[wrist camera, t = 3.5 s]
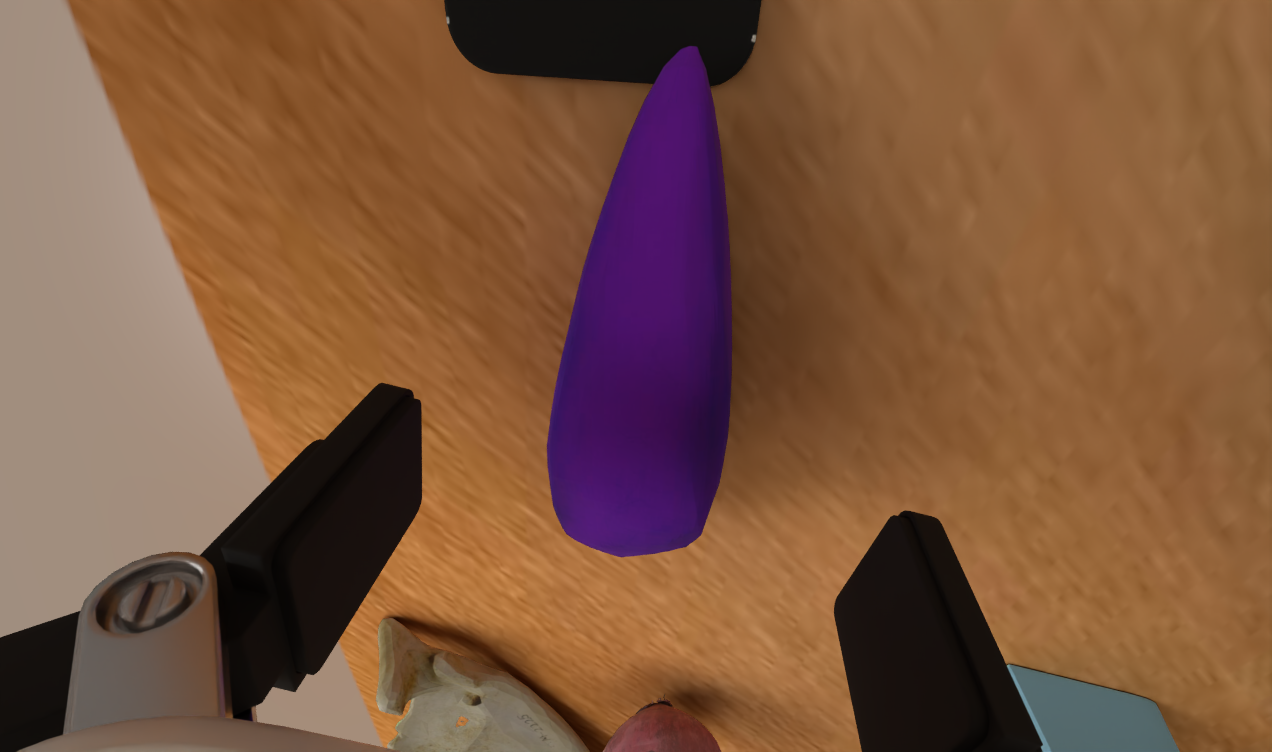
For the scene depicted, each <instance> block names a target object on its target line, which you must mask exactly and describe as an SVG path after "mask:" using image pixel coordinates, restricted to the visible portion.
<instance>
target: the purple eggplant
mask: <svg viewBox="0 0 1272 752" xmlns="http://www.w3.org/2000/svg"><path fill="white" fill-rule="evenodd" d="M731 378H732V301H731V268H730V246H729V229H728V215H727V205H726V194H725V183H724V175H723V166H722V157H721V148H720V140H719V134H718V127H717V121H716V114H715V108H714V103H713V98H712V94H711V90H710V85H709V81H708V76H707V71H706V68H705V65H704V63H703V61H702V58H701V56H700V53H699V50H698V47H696V46H688V47H686V48H683V49H681V50H680V51H679V52H678V53H677V54H676V55H675V56H674V57H673V58H672V59H671V60H670V61H669V62H668V63H667V64H666V65H665V66H664V67H663V69H662V71H661V72H660V74H659V76H658V78H657V80H656V81H655V83H654V85H653V87H652V88H651V90H650V92H649V94H648V95H647V97H646V99H645V101H644V103H643V105H642V107H641V109H640V112H639V114H638V116H637V118H636V121H635V123H634V125H633V127H632V129H631V132H630V134H629V136H628V139H627V142H626V144H625V147H624V150H623V152H622V155H621V158H620V160H619V163H618V166H617V168H616V171H615V174H614V177H613V179H612V182H611V185H610V188H609V191H608V193H607V196H606V199H605V202H604V205H603V207H602V211H601V214H600V217H599V220H598V223H597V226H596V229H595V231H594V234H593V237H592V241H591V244H590V247H589V251H588V254H587V258H586V261H585V264H584V268H583V271H582V275H581V279H580V283H579V287H578V291H577V295H576V299H575V304H574V308H573V312H572V316H571V320H570V325H569V329H568V333H567V337H566V342H565V346H564V350H563V354H562V358H561V363H560V368H559V372H558V377H557V382H556V387H555V393H554V399H553V405H552V411H551V418H550V426H549V434H548V442H547V461H548V472H549V480H550V487H551V495H552V501H553V506H554V509H555V512H556V515H557V517H558V519H559V521H560V524H561V526H562V528H563V529H564V531H565V532H566V534H567V535H569V536H570V537H572V538H573V539H575V540H576V541H578V542H580V543H582V544H584V545H587V546H589V547H591V548H594V549H596V550H599V551H602V552H605V553H609V554H612V555H615V556H618V557H626V556H637V555H647V554H656V553H659V552H665V551H671V550H674V549H678V548H683V547H686V546H688V545H689V544H690V543H692V542H693V541H695V540H696V539H697V538H698V537H699V536H700V535H701V534H702V531H703V528H704V525H705V522H706V519H707V517H708V514H709V511H710V508H711V505H712V502H713V500H714V497H715V494H716V491H717V489H718V486H719V483H720V478H721V473H722V468H723V462H724V456H725V450H726V444H727V438H728V428H729V417H730V398H731Z"/></svg>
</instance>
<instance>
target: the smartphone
mask: <svg viewBox="0 0 1272 752" xmlns="http://www.w3.org/2000/svg"><path fill="white" fill-rule="evenodd" d="M444 2H445V11H446V18H447V24H448V28H449V31H450V34H451V36H452V39H453V41H454V43H455V45H456V46H457V48H458V49H459V51H460V52H461V53H462V54H463V56H464V57H465V58H466V59H467V60H468V61H469V62H471V63H472V64H473V65H475V66H476V67H478V68H480V69H482V70H484V71H487V72H490V73H497V74H511V75H526V76H542V77H557V78H572V79H587V80H603V81H618V82H633V83H648V84H654V83H655V81H656V80H657V78H658V76H659V74H660V72H661V71H662V69H663V67H664V66H665V65H666V64H667V63H668V62H669V61H670V60H671V59H672V58H673V57H674V56H675V55H676V54H677V53H678V52H679V51H680V50H681V49H683V48H686V47H688V46H696V47H698V50H699V53H700V56H701V58H702V61H703V63H704V65H705V68H706V71H707V76H708V81H709V85H710V87H711V86H716V85H719V84H721V83H724V82H726V81H727V80H729V79H731V78H732V77H733V76H735V75H736V74H737V73H738V72H739V71H740V70H741V69H742V67H743V66H744V65H745V63H746V62H747V60H748V59H749V57H750V55H751V52H752V50H753V47H754V44H755V40H756V35H757V28H758V21H759V14H760V7H761V0H444Z"/></svg>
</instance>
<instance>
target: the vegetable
mask: <svg viewBox="0 0 1272 752" xmlns="http://www.w3.org/2000/svg"><path fill="white" fill-rule="evenodd" d="M664 696H665V695H664ZM663 698H664V697H663ZM659 699H660V700H659ZM659 699H658V700H657V702H658V703H653V701H652V703H650V704H648V705H646V706H644V707H643V708H641V709H640V710H639V711H638V712H637V713H636V714H635V715H634V716H632V717H631V718H630V719H628V720H627V721H626V722H625V723H624V724H622V725H621V726H620V727H619V728H618V730H617V731H616V732H615V733H614V735H613V736H612V737H611V739H610V740H609V742H608V743H607V745H606V747H605V749H604V751H603V752H721V750H720V748H719V745H718V743H717V741H716V740H715V738H714V737H713V736H712V734H711V733H710V732H709V731H708V730H707V728H706V727H705V726H703V725H702V724H701V723H700V722H699V721H698V720H696V719H695V718H693V717H692V716H690V715H689V714H687V713H685V712H683V711H680V710H678V709H675V708H674V707H672V705H671V703H670V701H668V700H665V699H664V700H661V698H659Z"/></svg>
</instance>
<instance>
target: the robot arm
mask: <svg viewBox="0 0 1272 752" xmlns="http://www.w3.org/2000/svg"><path fill="white" fill-rule="evenodd" d="M421 500H422V425H421V402H420V400H418V399H415V398H414V395H413V392H412V391H411V390H410V389H405V388H401V387H397V386H393V385H389V384H385V383H380V384H378V385H377V386H375V387H374V389H373V390H372V391H371V392H370V393H369V394H368V395H367V396H366V397H365V398H364V399H363V400H362V401H361V402H360V403H359V404H358V405H357V406H356V407H355V408H354V409H353V410H352V411H351V413H350V414H349V415H348V416H347V417H346V418H345V419H344V420H343V421H342V422H341V423H340V424H339V425H338V426H337V427H336V428H335V429H334V430H333V431H332V432H331V433H330V434H329V435H328V436H327V438H326V439H325V440H321V439H319V440H316V441H314V442H312V443H311V444H310V445H309V446H307V447H306V448H305V449H304V450H303V451H302V452H301V453H300V454H299V455H298V456H297V457H296V458H295V459H294V460H293V461H292V462H291V463H290V464H289V465H288V466H287V467H286V468H285V469H284V470H283V471H282V472H281V473H280V474H279V475H278V476H277V478H276V479H275V480H274V481H273V482H272V483H271V484H270V485H269V486H268V487H267V488H266V489H265V490H264V491H263V492H262V493H261V494H260V495H259V496H258V497H257V498H256V499H255V500H254V501H253V502H252V503H251V504H250V505H249V506H248V507H247V508H246V509H245V510H244V511H243V512H242V513H241V514H240V515H239V516H238V517H237V518H236V519H235V520H234V521H233V522H232V523H231V524H230V525H229V527H227V528H226V529H225V530H224V531H223V532H222V533H221V534H220V536H218V537H217V539H215V540H214V541H213V543H211V545H210V546H209V547H208V548H207V549H206V550H205V551H204V552H203V553H202V554H201V555H200V556H198V555H195V554H192V553H189V552H188V553H187V552H168V553H162V554H156V555H151V556H148V557H146V558H143V559H140V560H137V561H134V562H132V563H130V564H128V565H126V566H125V567H122V568H121V569H119V570H117V571H115V572H114V573H112V574H111V575H109V576H108V577H107V578H106V579H104V580H103V581H102V582H101V583H99V584H98V585H97V586H96V587H95V588H94V589H93V591H92V592H91V593H90V594H89V596H88V597H87V598H86V599H85V601H84V603H83V606H82V609H81V611H78V612H75V613H72V614H70V615H67V616H63V617H60V618H57V619H54V620H51V621H48V622H45V623H42V624H40V625H36V626H33V627H31V628H27V629H24V630H22V631H18V632H15V633H12V634H10V635H6V636H3V637H1V638H0V752H401V751H397V750H392V749H388V748H384V747H379V746H374V745H370V744H365V743H360V742H355V741H351V740H345V739H341V738H336V737H332V736H327V735H322V734H318V733H312V732H308V731H303V730H299V729H294V728H289V727H284V726H278V725H272V724H265V723H259V722H257V715H256V705H258V704H260V703H262V702H263V700H264V699H265V697H266V696H267V694H268V693H269V691H270V690H271V688H272V687H276V688H280V689H284V690H288V691H292V692H296V690H297V688H298V687H299V685H300V684H301V682H302V681H303V679H304V678H305V676H306V674H310V675H314V674H316V673H317V672H318V671H319V670H320V669H321V667H322V666H323V664H324V663H325V661H326V660H327V658H328V656H329V655H330V653H331V652H332V650H333V648H334V647H335V645H336V644H337V642H338V640H339V639H340V637H341V635H342V634H343V632H344V631H345V629H346V627H347V626H348V624H349V623H350V621H351V619H352V618H353V616H354V615H355V613H356V611H357V610H358V608H359V606H360V605H361V603H362V602H363V600H364V598H365V597H366V595H367V594H368V592H369V590H370V589H371V587H372V585H373V584H374V582H375V581H376V579H377V577H378V576H379V574H380V573H381V571H382V569H383V568H384V566H385V564H386V563H387V561H388V560H389V558H390V556H391V555H392V553H393V552H394V550H395V548H396V547H397V545H398V544H399V542H400V540H401V539H402V537H403V535H404V534H405V532H406V531H407V529H408V527H409V526H410V524H411V523H412V521H413V519H414V518H415V516H416V514H417V512H418V510H419V507H420V504H421ZM834 616H835V622H836V626H837V631H838V636H839V641H840V646H841V651H842V656H843V661H844V666H845V671H846V675H847V680H848V685H849V690H850V695H851V700H852V705H853V710H854V715H855V720H856V724H857V729H858V734H859V739H860V744H861V749H862V752H1043V751H1042V749H1041V746H1043V743H1042V741H1041V739H1040V737H1039V735H1038V733H1037V730H1036V728H1035V726H1034V724H1033V722H1032V719H1031V717H1030V715H1029V713H1028V711H1027V709H1026V706H1025V704H1024V702H1023V700H1022V698H1021V696H1020V693H1019V691H1018V689H1017V687H1016V685H1015V683H1014V680H1013V678H1012V676H1011V674H1010V672H1009V669H1008V667H1007V665H1006V663H1005V661H1004V659H1003V656H1002V654H1001V652H1000V650H999V648H998V646H997V643H996V641H995V639H994V637H993V635H992V633H991V630H990V628H989V626H988V624H987V622H986V620H985V617H984V615H983V613H982V611H981V609H980V606H979V604H978V602H977V600H976V598H975V596H974V593H973V591H972V589H971V587H970V585H969V583H968V580H967V578H966V576H965V574H964V572H963V570H962V567H961V565H960V563H959V561H958V559H957V556H956V554H955V552H954V550H953V548H952V546H951V543H950V541H949V539H948V537H947V535H946V533H945V530H944V528H943V526H942V524H941V522H940V521H939V520H938V519H937V518H935V517H932V516H928V515H924V514H920V513H915V512H911V511H903V512H901V513H900V514H899V515H898V516H895V515H893V516H891V517H890V518H889V520H888V521H887V523H886V524H885V526H884V527H883V529H882V530H881V532H880V533H879V535H878V536H877V538H876V539H875V541H874V542H873V544H872V545H871V547H870V548H869V550H868V551H867V553H866V554H865V556H864V557H863V559H862V560H861V562H860V563H859V565H858V566H857V568H856V569H855V571H854V572H853V574H852V575H851V577H850V578H849V580H848V581H847V583H846V584H845V586H844V587H843V589H842V590H841V592H840V593H839V595H838V596H837V598H836V601H835V606H834Z"/></svg>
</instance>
